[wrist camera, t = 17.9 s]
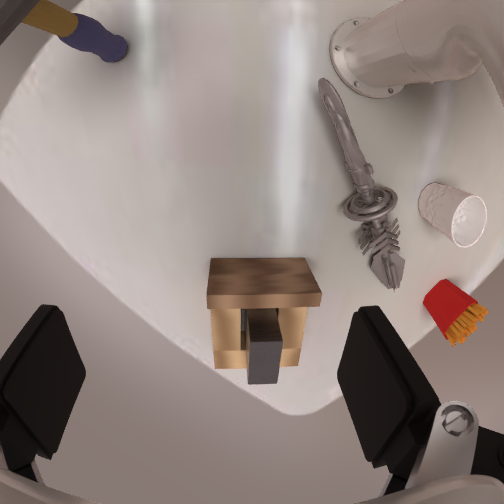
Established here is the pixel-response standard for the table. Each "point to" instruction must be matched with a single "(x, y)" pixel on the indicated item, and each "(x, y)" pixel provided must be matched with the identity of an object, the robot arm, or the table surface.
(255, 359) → the brushed grey post
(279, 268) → the wooden frame stool
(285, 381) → the table surface
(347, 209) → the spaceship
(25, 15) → the rubber mallet
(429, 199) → the white cup
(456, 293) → the french fries
